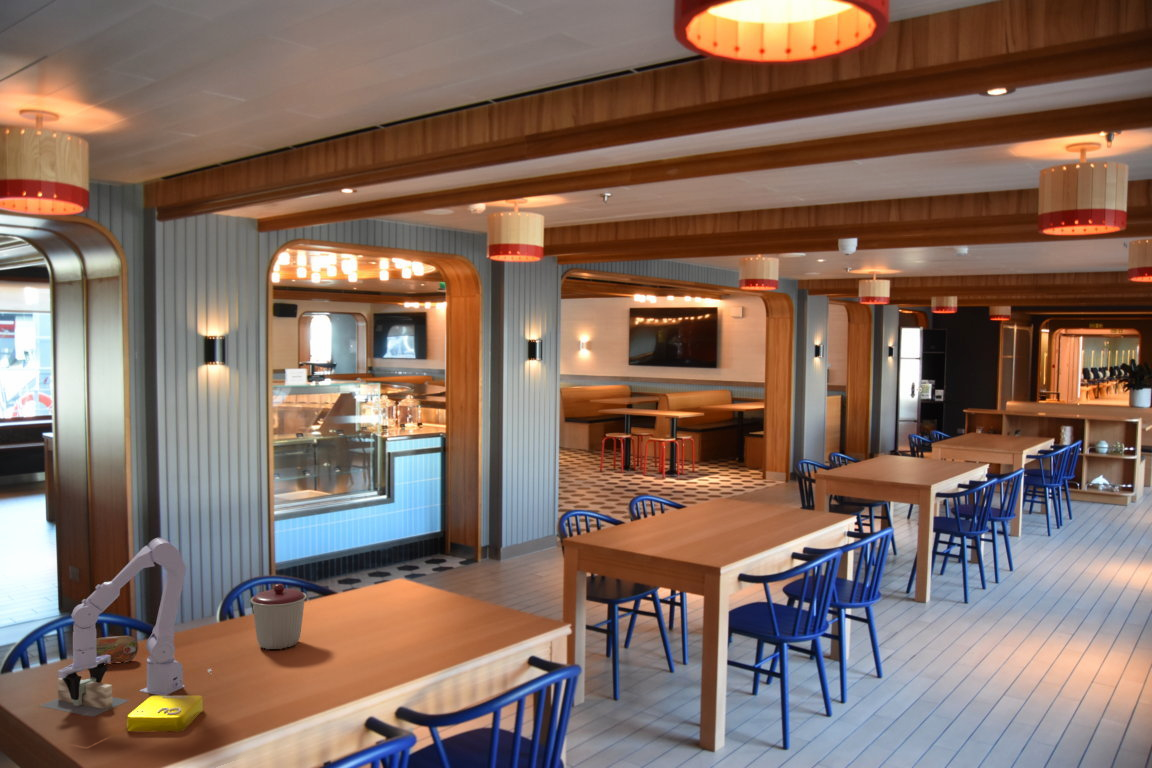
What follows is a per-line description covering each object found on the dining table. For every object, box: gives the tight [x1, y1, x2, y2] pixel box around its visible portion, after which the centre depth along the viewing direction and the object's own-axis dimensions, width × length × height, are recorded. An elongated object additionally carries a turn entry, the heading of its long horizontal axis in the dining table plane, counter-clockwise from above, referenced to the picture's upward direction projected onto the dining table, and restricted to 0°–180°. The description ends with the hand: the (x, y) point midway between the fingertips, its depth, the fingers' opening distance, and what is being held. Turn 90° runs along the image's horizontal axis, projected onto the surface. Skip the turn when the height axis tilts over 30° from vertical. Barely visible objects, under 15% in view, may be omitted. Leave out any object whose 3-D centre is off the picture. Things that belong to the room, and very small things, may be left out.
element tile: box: [126, 694, 204, 733], centre depth 230 cm, size 15×15×5 cm
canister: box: [250, 583, 308, 650], centre depth 291 cm, size 18×18×21 cm
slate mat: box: [39, 696, 130, 717], centre depth 240 cm, size 20×12×1 cm, turn 70°
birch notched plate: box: [57, 678, 113, 709], centre depth 240 cm, size 18×2×6 cm, turn 70°
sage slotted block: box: [73, 677, 96, 706], centre depth 240 cm, size 2×6×6 cm, turn 156°
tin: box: [96, 635, 139, 665], centre depth 273 cm, size 15×3×8 cm, turn 105°
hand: (84, 695), depth 240 cm, fingers closed on sage slotted block, 5 cm apart
